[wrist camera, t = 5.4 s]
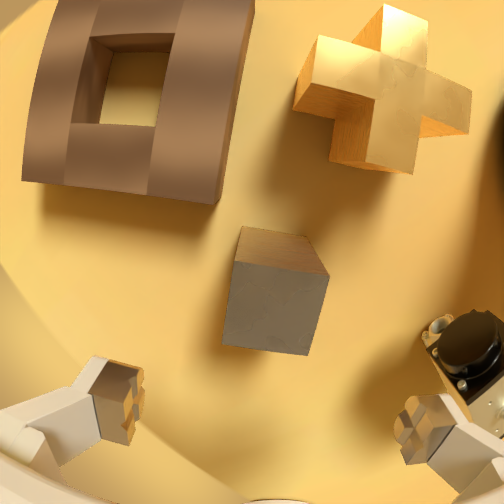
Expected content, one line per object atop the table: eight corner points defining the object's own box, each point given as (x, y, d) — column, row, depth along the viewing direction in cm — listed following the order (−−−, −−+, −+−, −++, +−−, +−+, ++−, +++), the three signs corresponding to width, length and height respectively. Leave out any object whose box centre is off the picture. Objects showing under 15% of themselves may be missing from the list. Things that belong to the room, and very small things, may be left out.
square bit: (293, 295, 24) (307, 355, 16) (232, 285, 24) (221, 343, 16) (306, 236, 22) (329, 276, 15) (242, 225, 22) (234, 260, 15)
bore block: (221, 197, 22) (213, 204, 18) (51, 176, 21) (21, 180, 18) (254, 11, 18) (254, -15, 14) (84, 13, 18) (60, -4, 14)
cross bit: (398, 178, 21) (459, 190, 13) (285, 152, 21) (300, 146, 13) (413, 72, 19) (472, 44, 11) (303, 40, 19) (325, -13, 11)
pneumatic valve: (438, 384, 26) (491, 467, 15) (394, 307, 24) (469, 401, 12) (479, 351, 25) (543, 422, 14) (445, 266, 23) (540, 335, 11)
